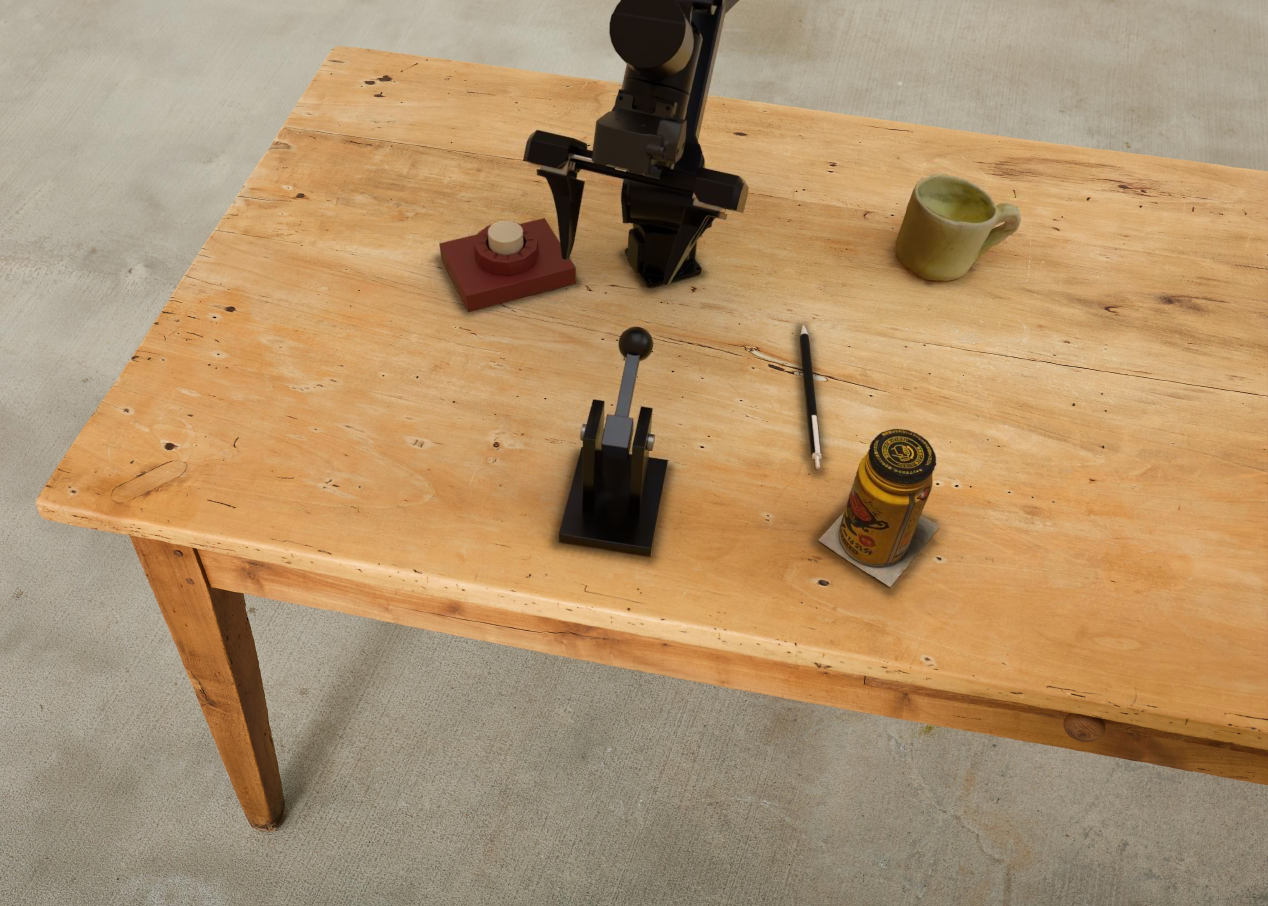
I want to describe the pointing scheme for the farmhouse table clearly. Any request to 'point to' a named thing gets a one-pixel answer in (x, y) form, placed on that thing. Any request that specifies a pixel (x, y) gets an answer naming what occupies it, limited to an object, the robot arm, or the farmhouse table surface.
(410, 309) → the farmhouse table surface
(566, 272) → the button housing
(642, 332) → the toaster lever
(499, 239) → the button
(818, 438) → the pen
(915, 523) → the condiment
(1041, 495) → the farmhouse table surface
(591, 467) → the lever bracket
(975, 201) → the mug
